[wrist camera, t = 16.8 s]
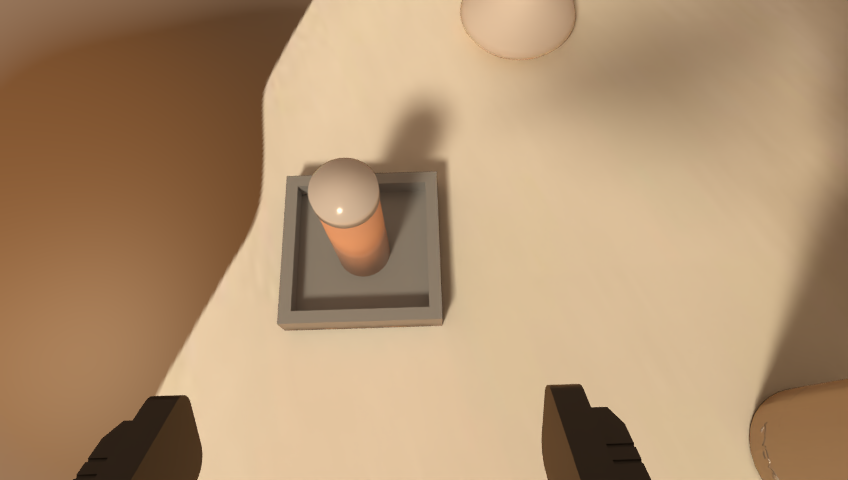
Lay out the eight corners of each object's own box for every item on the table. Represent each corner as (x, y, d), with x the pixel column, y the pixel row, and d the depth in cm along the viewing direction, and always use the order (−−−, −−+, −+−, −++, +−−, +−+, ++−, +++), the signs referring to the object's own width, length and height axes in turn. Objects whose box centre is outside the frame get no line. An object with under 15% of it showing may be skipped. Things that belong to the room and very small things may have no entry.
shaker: (390, 226, 49) (378, 156, 37) (391, 276, 47) (378, 220, 36) (337, 227, 49) (309, 159, 37) (336, 278, 47) (306, 222, 36)
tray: (436, 184, 51) (436, 171, 49) (442, 325, 46) (442, 318, 44) (293, 189, 51) (286, 176, 49) (285, 330, 47) (277, 324, 44)
